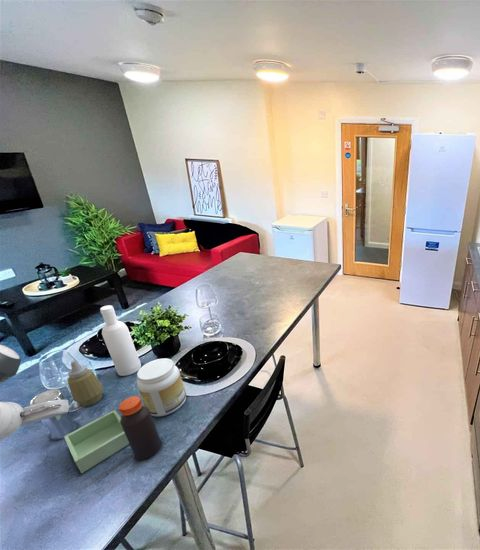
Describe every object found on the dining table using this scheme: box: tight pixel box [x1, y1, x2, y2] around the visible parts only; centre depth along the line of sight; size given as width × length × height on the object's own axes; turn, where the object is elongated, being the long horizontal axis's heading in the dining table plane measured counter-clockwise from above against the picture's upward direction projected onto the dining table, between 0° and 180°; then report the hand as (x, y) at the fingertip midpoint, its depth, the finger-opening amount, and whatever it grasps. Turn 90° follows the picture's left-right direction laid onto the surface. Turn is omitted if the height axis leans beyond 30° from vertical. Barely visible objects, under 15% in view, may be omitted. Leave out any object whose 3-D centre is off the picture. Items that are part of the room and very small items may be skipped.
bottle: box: [99, 304, 142, 377], centre depth 114 cm, size 8×8×30 cm
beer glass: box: [29, 389, 78, 441], centre depth 91 cm, size 7×7×15 cm
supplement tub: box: [136, 357, 187, 417], centre depth 102 cm, size 12×12×17 cm
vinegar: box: [118, 395, 162, 461], centre depth 86 cm, size 7×7×20 cm
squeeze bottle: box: [66, 360, 104, 407], centre depth 102 cm, size 8×8×18 cm
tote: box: [63, 409, 130, 474], centre depth 90 cm, size 13×13×5 cm
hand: (29, 419), depth 80 cm, fingers open, 8 cm apart
